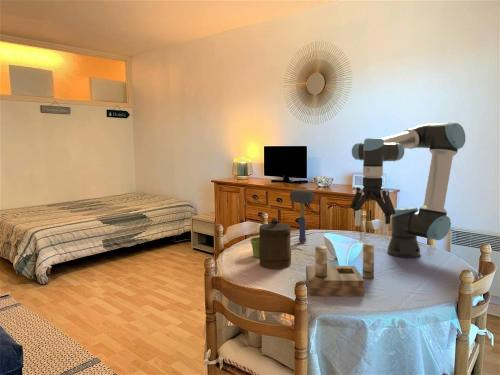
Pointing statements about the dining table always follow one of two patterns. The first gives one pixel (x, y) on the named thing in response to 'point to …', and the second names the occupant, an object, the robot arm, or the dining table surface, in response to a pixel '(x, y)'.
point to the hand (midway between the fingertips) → (371, 228)
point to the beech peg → (368, 261)
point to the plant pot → (255, 246)
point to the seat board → (332, 278)
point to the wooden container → (275, 245)
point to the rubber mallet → (302, 208)
